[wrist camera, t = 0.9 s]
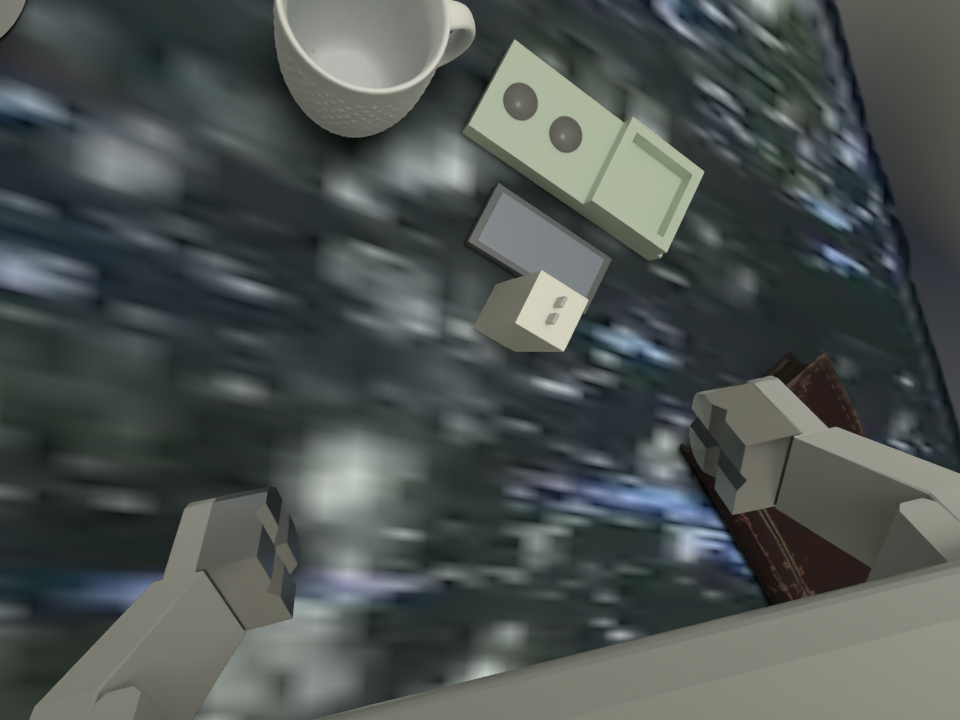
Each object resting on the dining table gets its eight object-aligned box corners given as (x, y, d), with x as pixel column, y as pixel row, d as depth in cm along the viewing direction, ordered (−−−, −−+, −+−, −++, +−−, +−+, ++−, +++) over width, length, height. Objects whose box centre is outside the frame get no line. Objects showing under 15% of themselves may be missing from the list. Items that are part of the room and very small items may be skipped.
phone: (464, 243, 52) (468, 241, 51) (493, 186, 53) (498, 182, 52) (579, 314, 56) (585, 314, 55) (605, 260, 57) (612, 258, 55)
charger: (473, 328, 52) (521, 322, 42) (495, 284, 53) (548, 267, 42) (514, 351, 54) (571, 351, 43) (535, 309, 54) (596, 298, 44)
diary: (776, 626, 65) (814, 649, 60) (671, 446, 60) (704, 455, 56) (881, 522, 70) (924, 535, 65) (792, 347, 65) (831, 347, 60)
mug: (427, 7, 51) (473, -105, 38) (468, 132, 52) (526, 63, 40) (254, 38, 46) (243, -77, 34) (304, 174, 48) (311, 111, 35)
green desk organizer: (461, 132, 52) (474, 118, 49) (506, 50, 53) (521, 30, 50) (648, 260, 58) (670, 255, 55) (684, 184, 59) (708, 174, 56)
